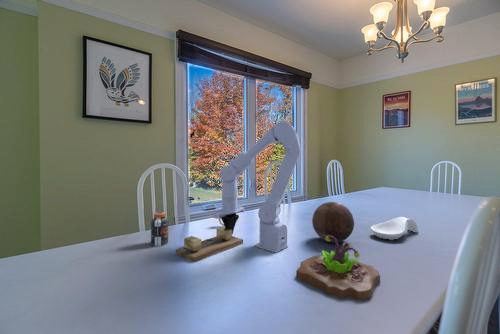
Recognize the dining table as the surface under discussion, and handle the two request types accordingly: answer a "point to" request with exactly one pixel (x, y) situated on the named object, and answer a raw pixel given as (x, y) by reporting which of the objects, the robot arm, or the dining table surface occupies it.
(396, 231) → the spoon rest
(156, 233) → the pill bottle
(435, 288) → the dining table surface
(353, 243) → the dining table surface
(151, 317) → the dining table surface
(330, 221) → the wooden sphere
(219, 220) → the ring
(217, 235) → the block
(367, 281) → the plant
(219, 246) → the flat brown board
